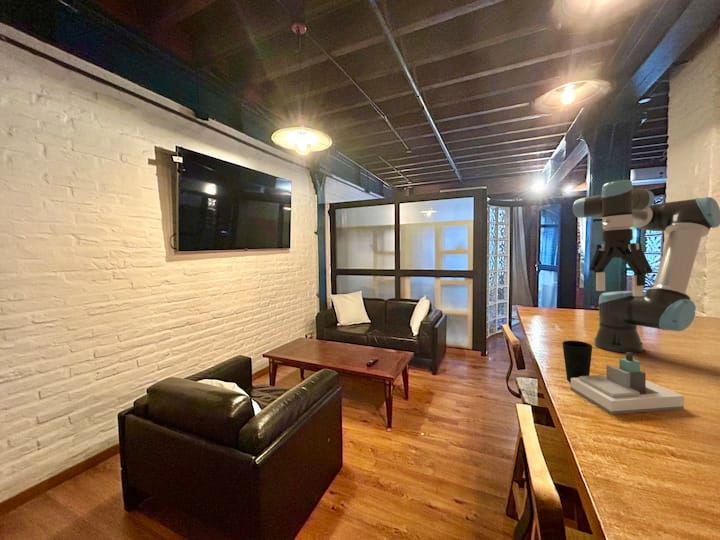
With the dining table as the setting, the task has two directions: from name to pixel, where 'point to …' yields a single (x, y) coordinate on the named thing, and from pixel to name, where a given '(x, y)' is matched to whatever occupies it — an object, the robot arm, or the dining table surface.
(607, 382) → the panel
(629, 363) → the plug
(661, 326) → the robot arm
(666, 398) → the socket board
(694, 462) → the dining table surface
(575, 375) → the cup
